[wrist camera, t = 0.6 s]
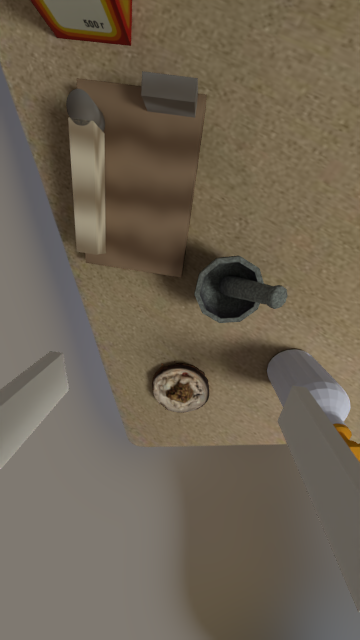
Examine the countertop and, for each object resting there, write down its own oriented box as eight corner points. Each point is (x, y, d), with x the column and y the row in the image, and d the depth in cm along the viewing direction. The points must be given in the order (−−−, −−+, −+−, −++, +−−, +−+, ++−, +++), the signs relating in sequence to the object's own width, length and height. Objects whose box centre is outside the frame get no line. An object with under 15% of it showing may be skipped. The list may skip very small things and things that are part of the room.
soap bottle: (312, 384, 41) (455, 567, 18) (266, 387, 42) (345, 561, 19) (316, 346, 37) (496, 511, 15) (265, 350, 39) (360, 509, 16)
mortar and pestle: (197, 309, 37) (196, 340, 26) (193, 257, 33) (190, 266, 22) (260, 305, 35) (288, 335, 24) (262, 249, 32) (296, 255, 21)
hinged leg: (80, 103, 25) (65, 86, 22) (105, 107, 25) (93, 90, 22) (86, 250, 32) (76, 251, 29) (106, 253, 32) (97, 254, 29)
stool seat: (87, 92, 26) (60, 57, 21) (205, 107, 26) (207, 75, 21) (93, 261, 35) (75, 264, 30) (182, 274, 34) (179, 281, 29)
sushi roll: (214, 354, 41) (215, 366, 37) (214, 409, 46) (216, 424, 42) (144, 355, 42) (138, 367, 38) (153, 408, 48) (149, 423, 44)
